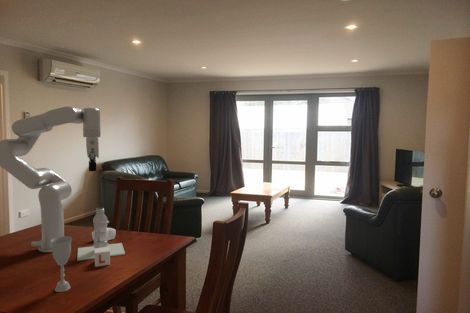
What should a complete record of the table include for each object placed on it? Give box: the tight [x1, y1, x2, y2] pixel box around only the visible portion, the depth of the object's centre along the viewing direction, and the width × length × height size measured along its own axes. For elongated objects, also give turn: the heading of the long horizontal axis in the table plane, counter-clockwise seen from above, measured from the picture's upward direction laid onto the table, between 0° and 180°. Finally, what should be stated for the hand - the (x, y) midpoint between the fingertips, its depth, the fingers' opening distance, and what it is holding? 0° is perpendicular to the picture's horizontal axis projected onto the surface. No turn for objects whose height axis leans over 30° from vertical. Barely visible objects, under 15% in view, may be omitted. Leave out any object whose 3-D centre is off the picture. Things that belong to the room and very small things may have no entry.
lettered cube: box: [94, 247, 111, 268], centre depth 143 cm, size 6×6×6 cm
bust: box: [91, 220, 117, 241], centre depth 175 cm, size 12×8×11 cm
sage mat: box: [76, 242, 126, 262], centre depth 157 cm, size 20×16×1 cm
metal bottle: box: [92, 207, 109, 249], centre depth 157 cm, size 6×7×20 cm
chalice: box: [51, 235, 73, 293], centre depth 119 cm, size 7×7×18 cm
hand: (92, 170), depth 159 cm, fingers open, 9 cm apart
